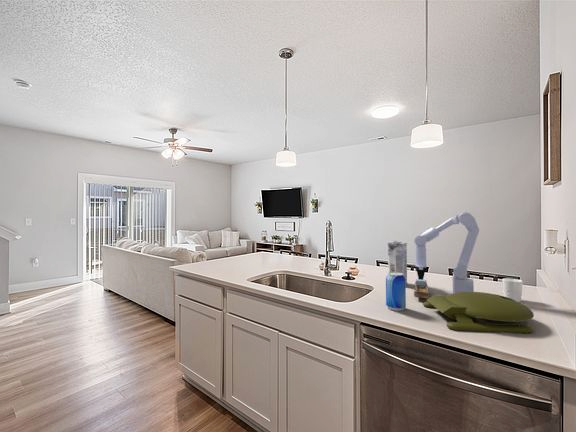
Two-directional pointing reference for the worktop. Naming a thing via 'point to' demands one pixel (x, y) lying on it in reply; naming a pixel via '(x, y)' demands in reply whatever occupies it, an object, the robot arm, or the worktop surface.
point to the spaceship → (481, 311)
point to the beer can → (395, 291)
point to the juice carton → (397, 257)
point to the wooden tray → (421, 292)
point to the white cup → (512, 288)
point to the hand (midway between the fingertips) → (420, 280)
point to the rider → (421, 283)
